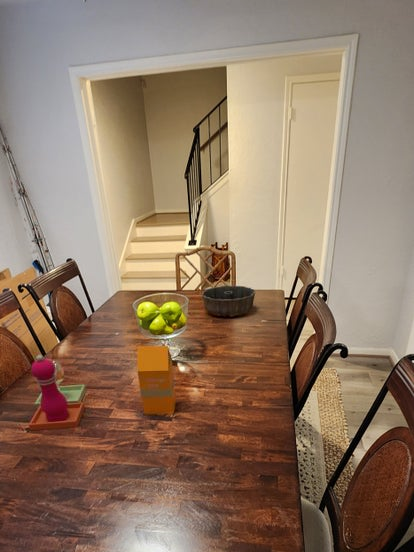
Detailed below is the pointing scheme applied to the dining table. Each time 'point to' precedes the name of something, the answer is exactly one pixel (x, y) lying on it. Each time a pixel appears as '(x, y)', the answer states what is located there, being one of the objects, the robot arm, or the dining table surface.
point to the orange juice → (156, 379)
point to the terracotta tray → (73, 420)
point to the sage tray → (73, 391)
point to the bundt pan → (228, 300)
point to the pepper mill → (49, 390)
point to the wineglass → (59, 375)
